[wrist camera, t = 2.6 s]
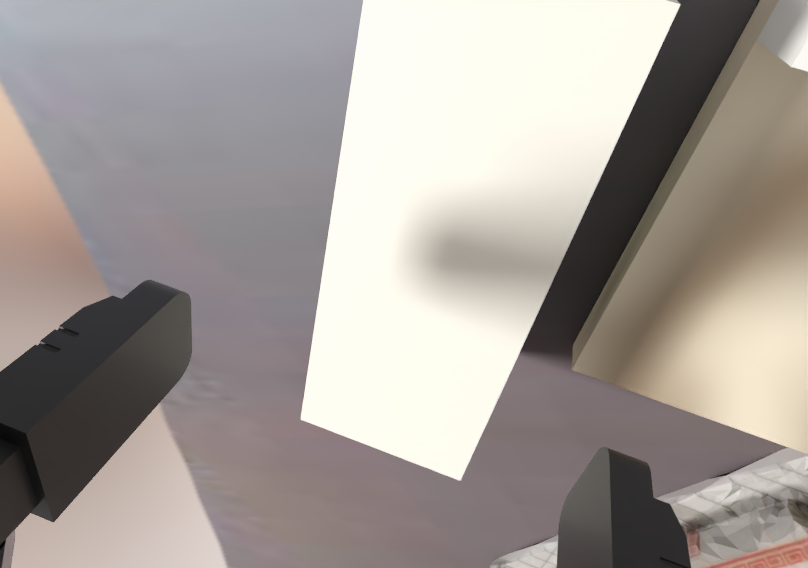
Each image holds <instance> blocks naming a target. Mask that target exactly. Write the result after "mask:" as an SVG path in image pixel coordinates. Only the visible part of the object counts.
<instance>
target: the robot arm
mask: <svg viewBox="0 0 808 568" xmlns="http://www.w3.org/2000/svg"><path fill="white" fill-rule="evenodd" d="M191 353H192V330H191V299H190V296H189V295H188V294H187V293H185V292H182V291H180V290H177V289H174V288H171V287H169V286H166V285H163V284H160V283H158V282H155V281H152V280H147V281H144V282H142V283H141V284H140V285H138V286H137V287H136V288H135V289H134V290H132V291H131V292H130V293H129V294H127V295H126V296H125V297H124V298H123V299H120V298H118V297H115V296H111V297H109V298H106V299H104V300H101V301H99V302H96V303H94V304H91V305H89V306H86V307H84V308H82V309H81V310H79V311H78V312H77V313H76V314H74V315H73V316H72V317H70V318H69V319H68V320H67V321H65V322H64V323H63V324H61V325H60V327H59V329H58V330H54V331H52V332H51V333H50V334H48V335H47V336H46V337H45V338H43V339H42V340H41V341H40V344H39V345H38V346H37V345H34V346H33V347H32V348H30V349H29V350H28V351H27V352H25V353H24V354H23V355H22V356H20V357H19V358H18V359H16V360H15V361H14V362H12V363H11V364H10V365H9V366H7V367H6V368H5V369H3V370H2V371H1V372H0V568H11V563H12V556H13V549H14V541H15V529H16V527H18V525H19V524H20V523H21V522H22V521H23V520H24V519H25V518H26V517H27V516H28V515H29V514H30V513H32V514H35V515H37V516H40V517H42V518H44V519H47V520H49V521H51V522H54V521H55V520H56V519H57V518H58V517H59V516H60V514H61V513H62V512H63V511H64V510H65V509H66V508H67V507H68V505H69V504H70V503H71V502H72V501H73V500H74V499H75V497H77V495H78V494H79V493H80V492H81V491H82V490H83V488H84V487H85V486H86V485H87V484H88V483H89V482H90V481H91V480H92V478H93V477H94V476H95V475H96V474H97V473H98V472H99V470H100V469H101V468H102V467H103V466H104V465H105V464H106V462H107V461H108V460H109V459H110V458H111V457H112V456H113V455H114V453H115V452H116V451H117V450H118V449H119V448H120V447H121V446H122V444H123V443H124V442H125V441H126V440H127V439H128V438H129V436H130V435H131V434H132V433H133V432H134V431H135V430H136V429H137V427H138V426H139V425H140V424H141V423H142V422H143V421H144V420H145V418H146V417H147V416H148V415H149V414H150V413H151V411H152V410H153V409H154V408H155V407H156V406H157V405H158V404H159V403H160V401H161V400H162V399H163V398H164V397H165V396H166V395H167V393H168V392H169V391H170V390H171V389H172V388H173V387H174V386H175V384H176V383H177V382H178V381H179V380H180V378H181V377H182V376H183V374H184V372H185V370H186V368H187V366H188V364H189V361H190V358H191ZM557 568H691V563H690V556H689V550H688V543H687V537H686V534H685V532H684V530H683V528H682V526H681V525H680V523H679V521H678V519H677V517H676V515H675V513H674V511H673V509H672V507H671V505H670V504H669V503H666V502H663V501H661V500H658V499H655V498H653V490H652V480H651V472H650V468H649V465H648V464H647V463H646V462H644V461H641V460H639V459H636V458H633V457H631V456H628V455H625V454H622V453H620V452H617V451H614V450H611V449H609V448H606V447H602V448H600V449H599V450H598V452H597V453H596V454H595V456H594V457H593V459H592V460H591V462H590V463H589V465H588V466H587V467H586V469H585V470H584V472H583V473H582V475H581V476H580V478H579V479H578V481H577V482H576V483H575V485H574V486H573V488H572V489H571V491H570V492H569V494H568V496H567V498H566V500H565V503H564V505H563V509H562V512H561V516H560V522H559V532H558V551H557Z"/></svg>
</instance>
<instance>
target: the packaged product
mask: <svg viewBox="0 0 808 568" xmlns="http://www.w3.org/2000/svg"><path fill="white" fill-rule="evenodd" d="M655 499H658V500H661V501H663V502H666V503H669V504H670V505H671V507H672V509H673V511H674V513H675V515H676V517H677V519H678V521H679V523H680V525H681V526H682V528H683V530H684V532H685V534H686V537H687V543H688V550H689V556H690V563H691V568H808V454H806V453H803V452H800V451H797V450H794V449H792V448H786V449H783V450H780V451H778V452H776V453H773V454H771V455H769V456H767V457H765V458H763V459H761V460H758V461H756V462H754V463H752V464H750V465H748V466H745V467H743V468H741V469H739V470H737V471H735V472H732V473H730V474H728V475H726V476H721V477H716V478H712V479H707V480H705V481H703V482H700V483H697V484H694V485H691V486H689V487H686V488H683V489H680V490H677V491H674V492H671V493H669V494H666V495H663V496H660V497H657V498H655ZM557 551H558V535H557V536H555V537H552V538H550V539H548V540H546V541H543V542H541V543H539V544H536V545H534V546H530V547H527V548H524V549H521V550H518V551H515V552H512V553H509V554H507V555H505V556H502V557H500V558H497V559H495V560H494V561H493V563H492V564H491V565H490V568H557Z"/></svg>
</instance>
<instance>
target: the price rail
mask: <svg viewBox="0 0 808 568" xmlns="http://www.w3.org/2000/svg"><path fill="white" fill-rule="evenodd" d="M757 41H759V42H760V43H761V44H763V45H764V46H765V47H766V48H768V49H769V50H770V51H772V52H773V53H774V54H775V55H777V56H778V57H779V58H780V59H782V60H783V61H784V62H786V63H787V64H788V65H789V66H791V67H794V68H797V69H801V70H804V71H808V0H779V1H778V3H777V5H776V7H775V9H774V10H773V12H772V14H771V16H770V17H769V19H768V21H767V23H766V25H765V26H764V28H763V30H762V32H761V34H760V35H759V37H758V39H757Z"/></svg>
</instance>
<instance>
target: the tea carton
mask: <svg viewBox="0 0 808 568" xmlns="http://www.w3.org/2000/svg"><path fill="white" fill-rule="evenodd" d="M680 5H681V4H680V3H679V2H678V1H677V0H363V7H362V13H361V20H360V27H359V33H358V40H357V47H356V53H355V60H354V67H353V73H352V80H351V87H350V93H349V100H348V107H347V113H346V120H345V127H344V133H343V140H342V147H341V153H340V160H339V167H338V173H337V180H336V187H335V193H334V200H333V207H332V213H331V220H330V227H329V233H328V240H327V247H326V253H325V260H324V267H323V273H322V280H321V287H320V293H319V300H318V307H317V313H316V320H315V327H314V333H313V340H312V347H311V353H310V360H309V367H308V373H307V380H306V387H305V393H304V400H303V407H302V413H301V420H304V421H306V422H309V423H311V424H314V425H317V426H319V427H322V428H324V429H327V430H330V431H332V432H335V433H337V434H340V435H343V436H345V437H348V438H350V439H353V440H356V441H358V442H361V443H363V444H366V445H369V446H371V447H374V448H376V449H379V450H382V451H384V452H387V453H389V454H392V455H395V456H397V457H400V458H402V459H405V460H408V461H410V462H413V463H415V464H418V465H421V466H423V467H426V468H428V469H431V470H434V471H436V472H439V473H441V474H444V475H447V476H449V477H452V478H454V479H457V480H461V478H462V476H463V474H464V472H465V470H466V467H467V465H468V463H469V461H470V459H471V457H472V454H473V452H474V450H475V448H476V446H477V444H478V441H479V439H480V437H481V435H482V433H483V431H484V428H485V426H486V424H487V422H488V420H489V418H490V416H491V413H492V411H493V409H494V407H495V405H496V403H497V400H498V398H499V396H500V394H501V392H502V390H503V387H504V385H505V383H506V381H507V379H508V377H509V374H510V372H511V370H512V368H513V366H514V364H515V361H516V359H517V357H518V355H519V353H520V351H521V348H522V346H523V344H524V342H525V340H526V338H527V336H528V333H529V331H530V329H531V327H532V325H533V323H534V320H535V318H536V316H537V314H538V312H539V310H540V307H541V305H542V303H543V301H544V299H545V297H546V294H547V292H548V290H549V288H550V286H551V284H552V281H553V279H554V277H555V275H556V273H557V271H558V268H559V266H560V264H561V262H562V260H563V258H564V256H565V253H566V251H567V249H568V247H569V245H570V243H571V240H572V238H573V236H574V234H575V232H576V230H577V227H578V225H579V223H580V221H581V219H582V217H583V214H584V212H585V210H586V208H587V206H588V204H589V201H590V199H591V197H592V195H593V193H594V191H595V188H596V186H597V184H598V182H599V180H600V178H601V176H602V173H603V171H604V169H605V167H606V165H607V163H608V160H609V158H610V156H611V154H612V152H613V150H614V147H615V145H616V143H617V141H618V139H619V137H620V134H621V132H622V130H623V128H624V126H625V124H626V121H627V119H628V117H629V115H630V113H631V111H632V108H633V106H634V104H635V102H636V100H637V98H638V96H639V93H640V91H641V89H642V87H643V85H644V83H645V80H646V78H647V76H648V74H649V72H650V70H651V67H652V65H653V63H654V61H655V59H656V57H657V54H658V52H659V50H660V48H661V46H662V44H663V41H664V39H665V37H666V35H667V33H668V31H669V29H670V26H671V24H672V22H673V20H674V18H675V16H676V13H677V11H678V9H679V7H680Z"/></svg>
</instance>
